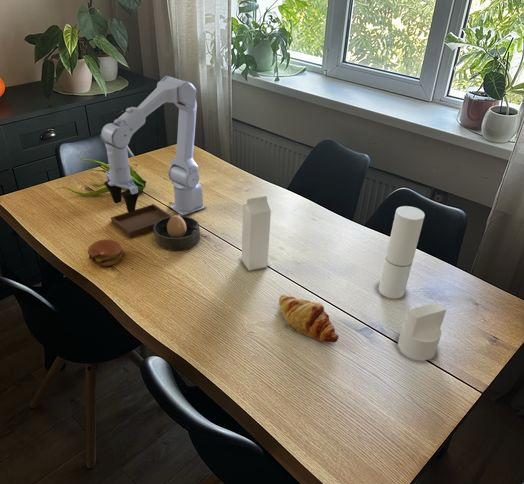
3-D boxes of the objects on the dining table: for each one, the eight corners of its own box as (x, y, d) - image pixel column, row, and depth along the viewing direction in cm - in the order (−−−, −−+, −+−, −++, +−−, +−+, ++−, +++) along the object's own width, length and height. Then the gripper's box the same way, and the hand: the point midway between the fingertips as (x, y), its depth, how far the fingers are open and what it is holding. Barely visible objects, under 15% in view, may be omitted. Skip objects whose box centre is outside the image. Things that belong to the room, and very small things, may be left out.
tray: (154, 209, 174) (153, 203, 172) (173, 223, 166) (173, 217, 165) (111, 222, 165) (110, 217, 163) (129, 238, 157) (129, 232, 156)
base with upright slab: (413, 364, 117) (424, 326, 110) (390, 340, 124) (400, 302, 117) (443, 354, 120) (456, 317, 113) (419, 331, 127) (430, 294, 120)
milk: (267, 267, 148) (272, 200, 135) (248, 271, 145) (251, 204, 133) (259, 256, 152) (263, 191, 139) (241, 260, 150) (243, 194, 137)
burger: (119, 246, 153) (117, 233, 150) (126, 262, 146) (124, 249, 143) (86, 253, 149) (84, 240, 147) (91, 270, 142) (89, 256, 140)
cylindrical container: (405, 286, 142) (425, 209, 128) (402, 301, 137) (423, 221, 123) (380, 281, 144) (397, 204, 130) (376, 294, 139) (394, 216, 124)
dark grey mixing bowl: (183, 223, 166) (183, 211, 164) (208, 241, 158) (208, 229, 155) (146, 236, 158) (144, 224, 156) (170, 256, 150) (169, 243, 147)
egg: (186, 243, 156) (185, 220, 151) (167, 243, 155) (165, 220, 151) (187, 233, 161) (186, 211, 156) (168, 233, 160) (166, 211, 155)
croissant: (271, 316, 134) (261, 301, 128) (296, 290, 136) (287, 274, 130) (327, 360, 121) (319, 345, 115) (354, 331, 123) (347, 315, 117)
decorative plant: (83, 177, 192) (76, 140, 184) (150, 191, 184) (146, 153, 176) (51, 195, 178) (43, 156, 170) (122, 212, 171) (117, 172, 162)
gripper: (94, 161, 147) (100, 202, 155) (120, 177, 139) (126, 219, 147) (114, 155, 151) (120, 195, 159) (142, 170, 143) (146, 212, 151)
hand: (124, 206), depth 153 cm, fingers open, 7 cm apart
